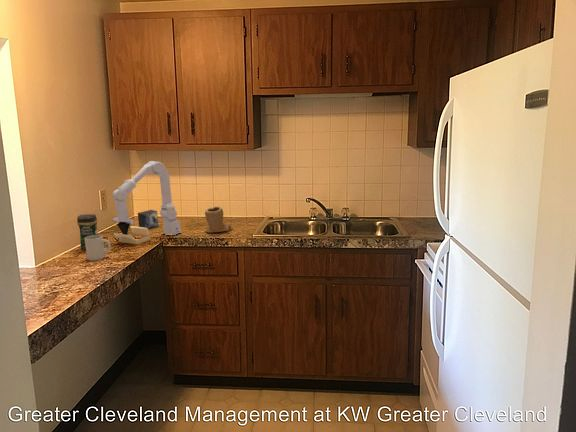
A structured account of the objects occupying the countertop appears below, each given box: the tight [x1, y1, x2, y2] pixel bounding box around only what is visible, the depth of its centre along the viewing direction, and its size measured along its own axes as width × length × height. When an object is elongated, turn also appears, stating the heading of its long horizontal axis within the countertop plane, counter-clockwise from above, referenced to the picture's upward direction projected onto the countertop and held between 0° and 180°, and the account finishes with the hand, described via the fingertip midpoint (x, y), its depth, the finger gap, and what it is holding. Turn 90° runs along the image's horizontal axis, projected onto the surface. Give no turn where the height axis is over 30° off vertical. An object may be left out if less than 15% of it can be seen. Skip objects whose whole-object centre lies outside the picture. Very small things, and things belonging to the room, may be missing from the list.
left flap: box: [113, 232, 135, 240], centre depth 251 cm, size 13×4×1 cm
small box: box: [137, 209, 159, 230], centre depth 285 cm, size 11×6×10 cm, turn 143°
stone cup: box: [204, 206, 232, 234], centre depth 268 cm, size 15×12×15 cm
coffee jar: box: [76, 213, 99, 250], centre depth 246 cm, size 10×8×19 cm
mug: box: [85, 234, 112, 262], centre depth 229 cm, size 12×8×11 cm
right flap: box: [129, 225, 151, 236], centre depth 260 cm, size 13×4×1 cm
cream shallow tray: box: [118, 232, 151, 245], centre depth 257 cm, size 14×10×2 cm
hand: (125, 235), depth 251 cm, fingers closed, pressing on left flap
